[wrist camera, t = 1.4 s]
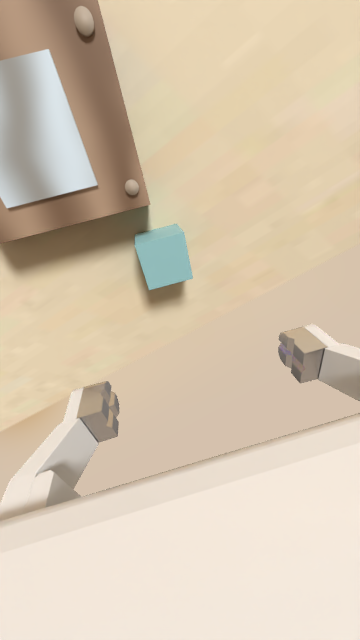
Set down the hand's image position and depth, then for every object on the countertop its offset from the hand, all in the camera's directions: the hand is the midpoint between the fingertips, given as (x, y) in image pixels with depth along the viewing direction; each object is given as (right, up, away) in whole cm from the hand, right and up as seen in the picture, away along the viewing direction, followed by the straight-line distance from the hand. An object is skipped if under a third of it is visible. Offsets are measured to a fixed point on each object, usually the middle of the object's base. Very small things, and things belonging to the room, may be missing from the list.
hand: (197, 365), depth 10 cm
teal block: (-3, +11, +17) cm, 21 cm away
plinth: (-13, +18, +10) cm, 25 cm away
